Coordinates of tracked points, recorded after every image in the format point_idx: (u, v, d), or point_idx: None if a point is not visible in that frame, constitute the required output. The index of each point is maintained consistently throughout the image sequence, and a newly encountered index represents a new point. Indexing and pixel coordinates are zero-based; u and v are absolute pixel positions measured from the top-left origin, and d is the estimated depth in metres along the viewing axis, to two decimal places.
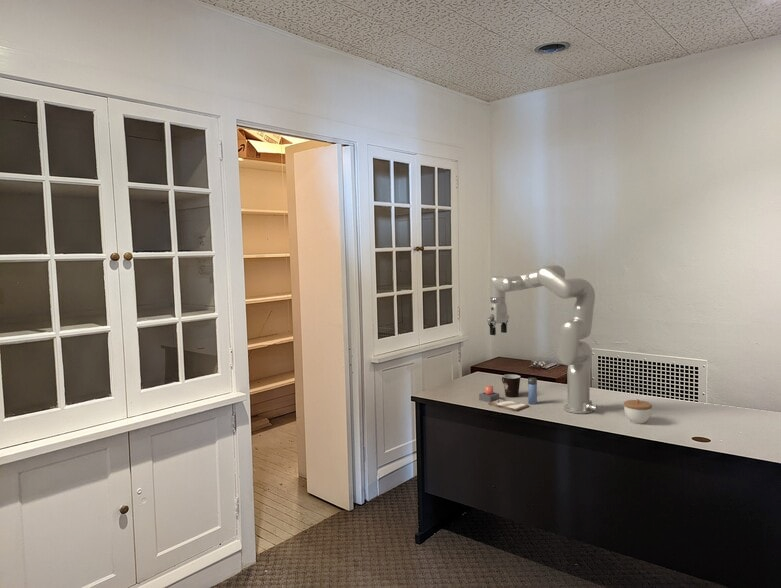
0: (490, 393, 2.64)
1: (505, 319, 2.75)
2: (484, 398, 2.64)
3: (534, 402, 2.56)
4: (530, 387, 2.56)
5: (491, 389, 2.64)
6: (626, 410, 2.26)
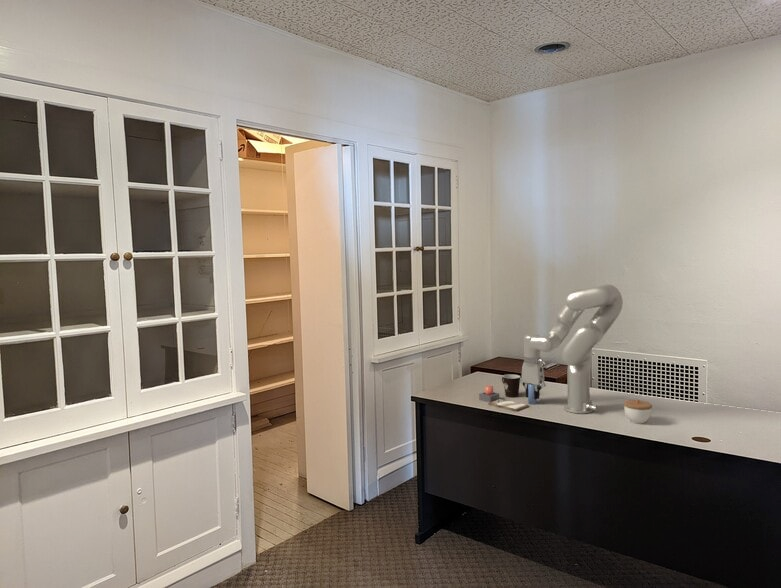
0: (490, 393, 2.64)
1: None
2: (484, 398, 2.64)
3: (534, 402, 2.56)
4: (530, 387, 2.56)
5: (491, 389, 2.64)
6: (626, 410, 2.26)
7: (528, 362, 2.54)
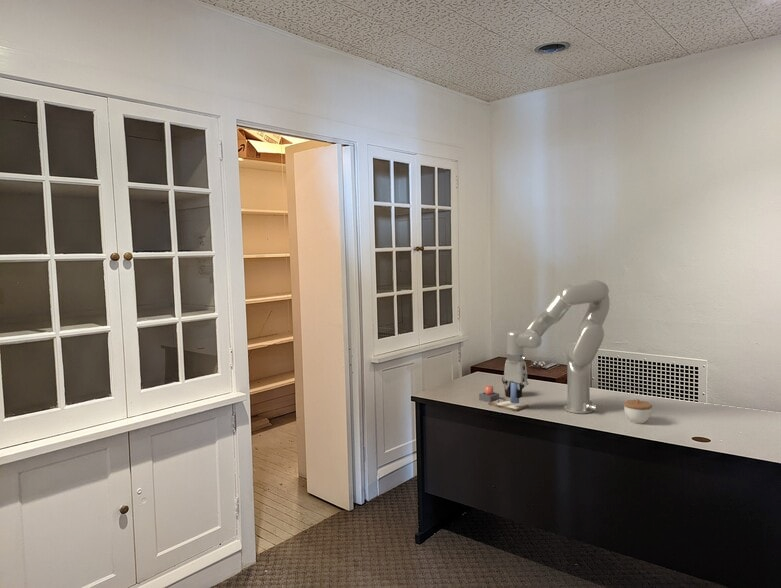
0: (490, 393, 2.64)
1: None
2: (484, 398, 2.64)
3: (516, 401, 2.48)
4: (512, 385, 2.48)
5: (491, 389, 2.64)
6: (626, 410, 2.26)
7: (511, 359, 2.46)
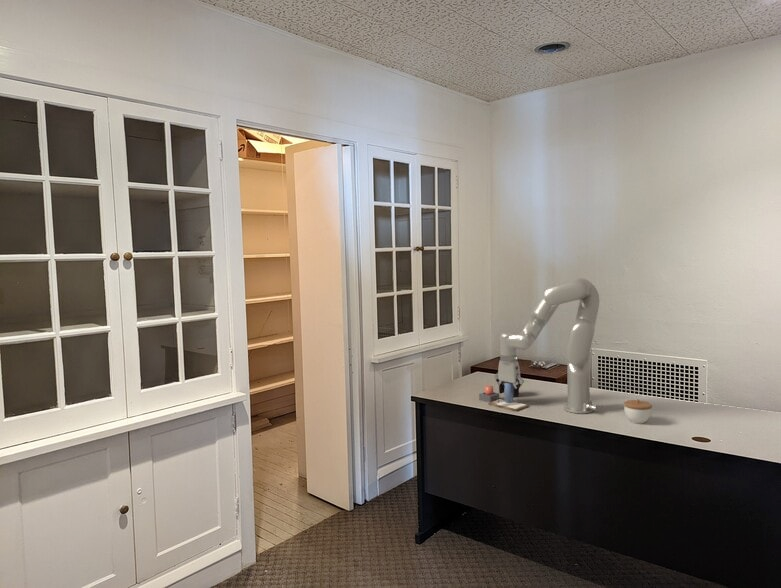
0: (490, 393, 2.64)
1: None
2: (484, 398, 2.64)
3: (510, 401, 2.56)
4: (506, 386, 2.56)
5: (491, 389, 2.64)
6: (626, 410, 2.26)
7: (504, 360, 2.54)
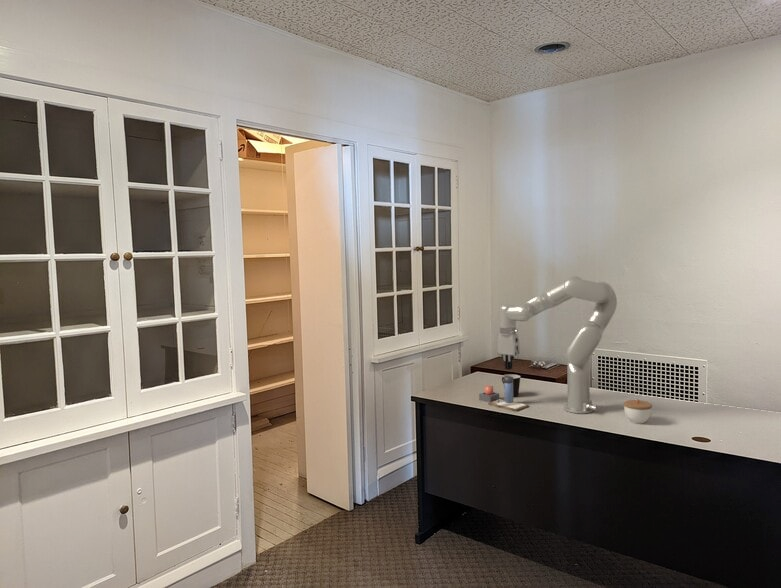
0: (490, 393, 2.64)
1: None
2: (484, 398, 2.64)
3: (510, 401, 2.56)
4: (506, 386, 2.56)
5: (491, 389, 2.64)
6: (626, 410, 2.26)
7: (503, 332, 2.53)
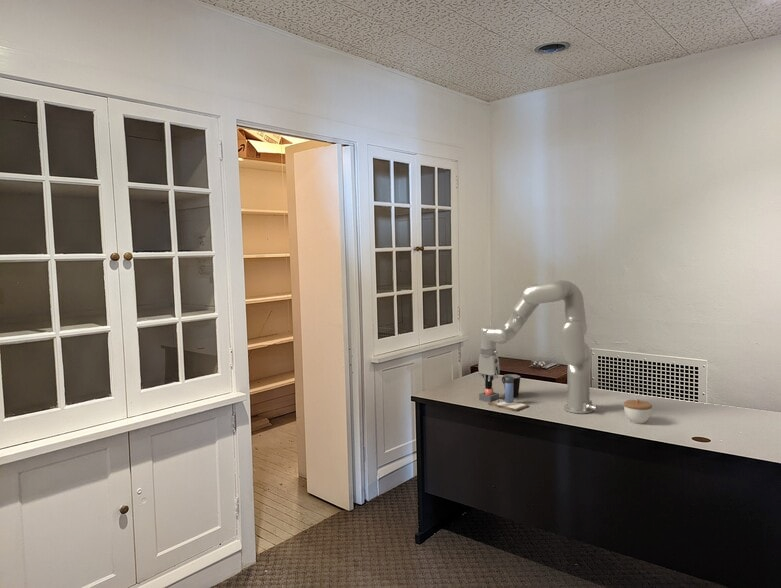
0: None
1: None
2: (484, 398, 2.64)
3: (510, 401, 2.56)
4: (506, 386, 2.56)
5: (491, 391, 2.65)
6: (626, 410, 2.26)
7: (484, 353, 2.62)
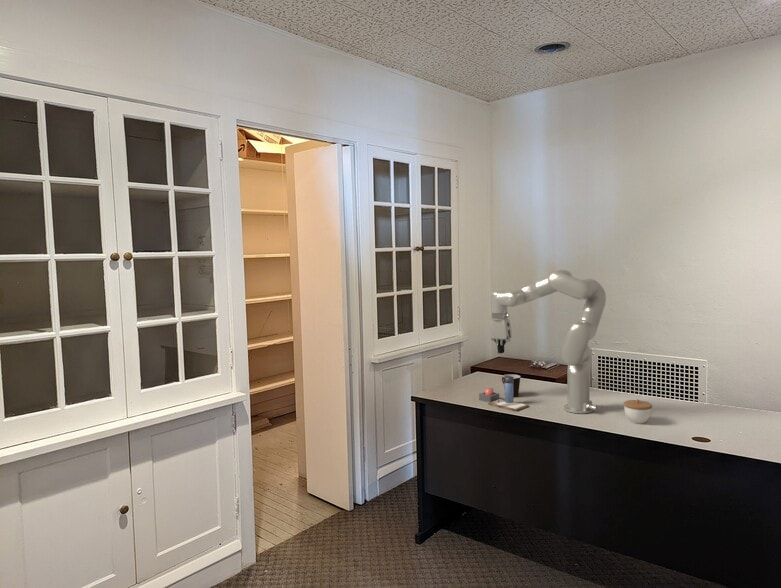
0: None
1: None
2: (484, 398, 2.64)
3: (510, 401, 2.56)
4: (507, 386, 2.56)
5: (491, 391, 2.65)
6: (626, 410, 2.26)
7: (496, 317, 2.62)
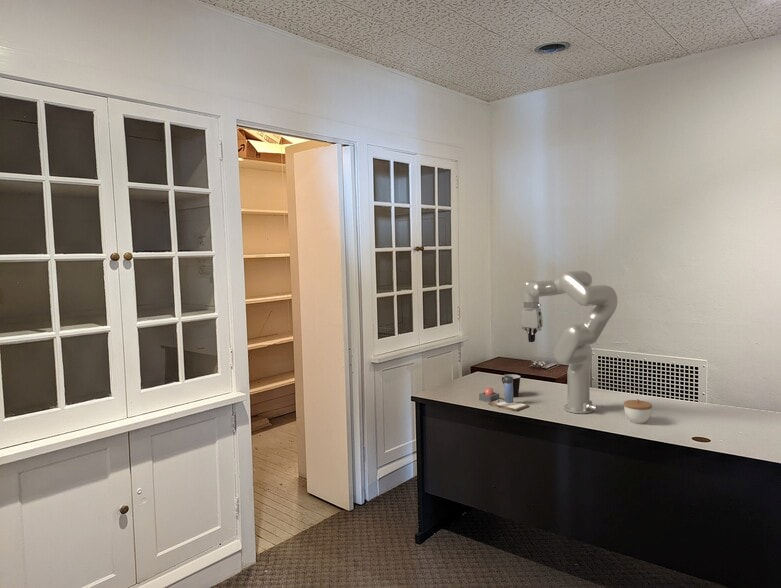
0: None
1: None
2: (484, 398, 2.64)
3: (510, 401, 2.56)
4: (506, 386, 2.56)
5: (491, 391, 2.65)
6: (626, 410, 2.26)
7: (527, 307, 2.67)
